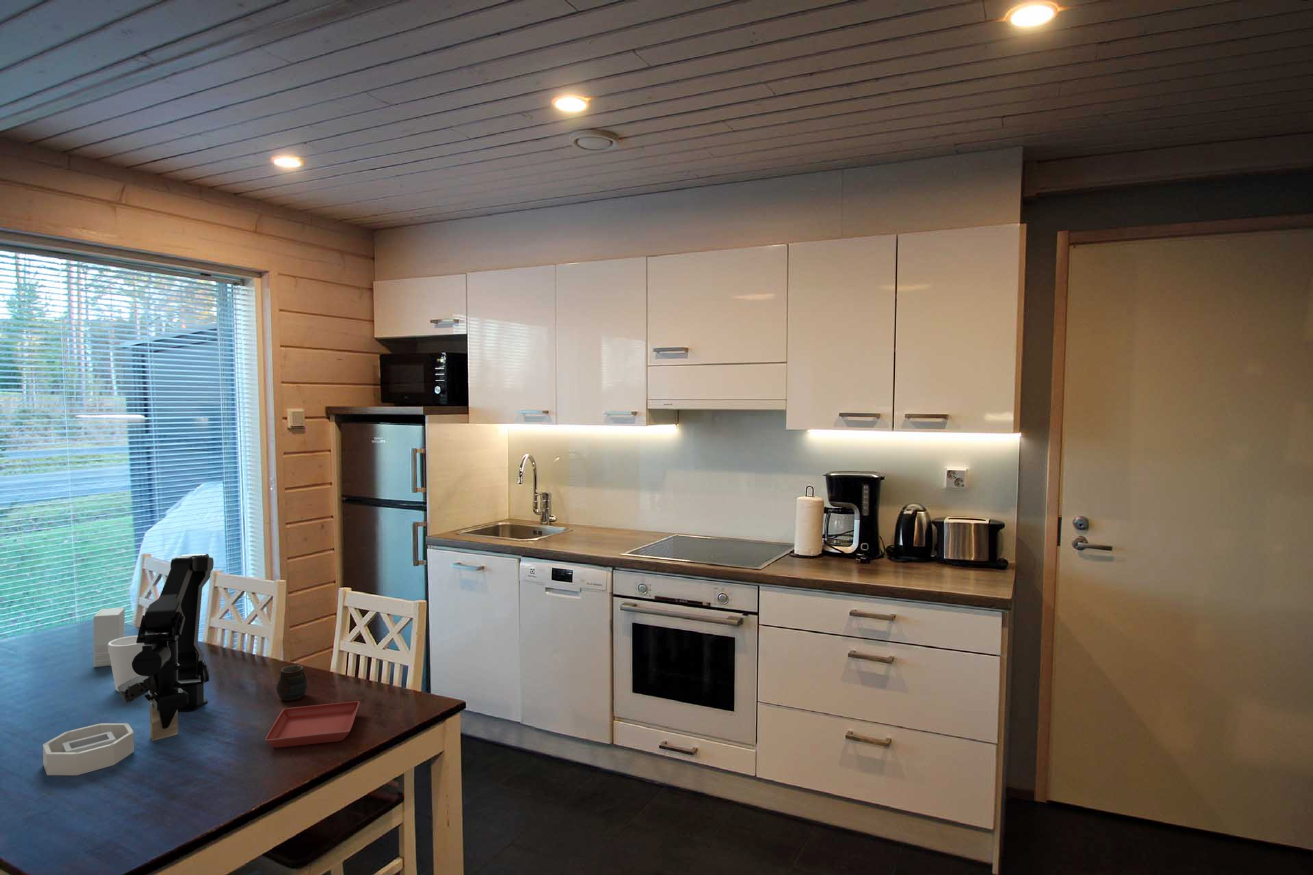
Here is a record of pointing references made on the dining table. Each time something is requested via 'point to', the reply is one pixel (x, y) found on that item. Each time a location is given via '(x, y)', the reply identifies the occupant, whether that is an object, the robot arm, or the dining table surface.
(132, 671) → the foam cup
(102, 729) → the octagonal boat dish
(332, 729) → the plant saucer
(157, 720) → the wood grain block
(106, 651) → the skincare box
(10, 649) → the dining table surface
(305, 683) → the mate gourd
